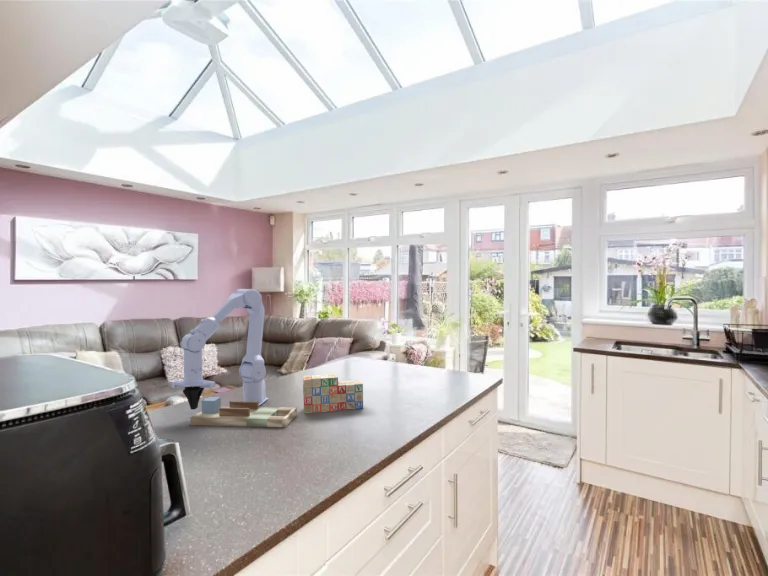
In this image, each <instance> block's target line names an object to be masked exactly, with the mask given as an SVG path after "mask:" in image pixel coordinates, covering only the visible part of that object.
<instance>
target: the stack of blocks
mask: <svg viewBox="0 0 768 576" xmlns="http://www.w3.org/2000/svg"><path fill="white" fill-rule="evenodd" d="M302 383H303V384H302V389H303V390H302V393H303V413H304V414H315V413H314V412H317V413H326V412H327V411H330V412H337V411H336V410H341V411H346V410H345V409H353V410H363V409H364V388H363V387H364V384H363V382H362V380H360V379H359V380H358V379H357V380H354V379H353V380H339V377H338V375H337V373H325V374H315V375H314V374H313V375H303V377H302ZM312 412H313V413H312ZM327 413H328V412H327Z"/></svg>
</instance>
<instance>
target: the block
mask: <svg viewBox="0 0 768 576" xmlns="http://www.w3.org/2000/svg"><path fill="white" fill-rule="evenodd" d="M221 398H222V397H221V396H208V397H206V398H204V399H202V400H201V411H202V414H215V413H217V412H218V411H219V408H221V406H222V404H221V403H222V402H221Z"/></svg>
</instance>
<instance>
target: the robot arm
mask: <svg viewBox="0 0 768 576" xmlns="http://www.w3.org/2000/svg"><path fill="white" fill-rule="evenodd" d="M262 299H263V295H262V294H261V293H260V292H259V291H258V290H257V289H255V288H248V289H247V288H238V289H236V290H234V292H232V293H231V294H230V295H229V297H228V299H226V301H224V303H223V304H222V305H220V307H219V308H218V309H217V311H215V313H214V314H213V315H212V316H210V317H209V316H207V317H205V318H201V320H200V321H199V323H198V325H197V326H195V328H194V329H191V330H190V331H189V333H188V334H185V335H184V336H183V337H182V338H181V341H180V342H179V345H180V348H182V350H183V380H174V381H172V382H171V388H172V389H176V388H184V389H183V390H182V392H183V394H184V396H185V398H186V399H187V401H188V404H189V408H190V410H196V409H198V407H199V403H200V399H201V396H202V393H204V390H205V389H214V388H216V381H214V380H213V381H212V380H205V379H204V380H203V349H205V345H206V342H207V341H208V340H209V338H211V337H212V336H213V335H214V334H215V332H217V331H218V330H219V328H220V323H221V322H222V321H223V320H224V319H225V318H227V317H228V315H230V314H231V313H232V312H233V311H234V310H235V309H238V308H243V309H245V310H246V311H247V313H248V314H249V320H248V329H247V330H248V331H247V341H246V352H245V355H244V356H243V357H242V360H241V364H240V366H239V368H238V373H239V375H240V376H241V377H242V401H259V407H261V405H263V404H264V403H265V402H266V401H268V400H269V397H267V392H266V391H267V389H266V388H267V387H266V381H265V380H264V378H265V376H266V374H267V370H266V366H265V360H264V358H263V356H262V348H263V347H262V345H263V334H264V333H263V332H264V323H265V313H266V311H265V306H264V304H263V301H262Z"/></svg>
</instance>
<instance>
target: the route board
mask: <svg viewBox="0 0 768 576" xmlns="http://www.w3.org/2000/svg"><path fill="white" fill-rule="evenodd" d="M297 409H298V408H297V407H283V406H281V407H280V406H278V407H277V406H275V407H274V406H272V407H271V406H269V407H268V406H259V401H243V400H230V401H229V406H228V405H227V406H226V405H225V406H224V405H223V406H222V405H221V408H219V411H218V412H217V413H215V414H202V410H200V411H199V412H197V413H195V414H193V415H192V416H190V418H189V419H190V426H214V427H215V426H218V427H219V426H221V427H224V426H225V427H262V428H263V427H264V428H266V427H267V428H286V427H287V426H288V425H289V424H290V423H291V422H292V420H294V419H295V417H296V416H297V415H298V414H297V413H298V412H297V411H298V410H297Z"/></svg>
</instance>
